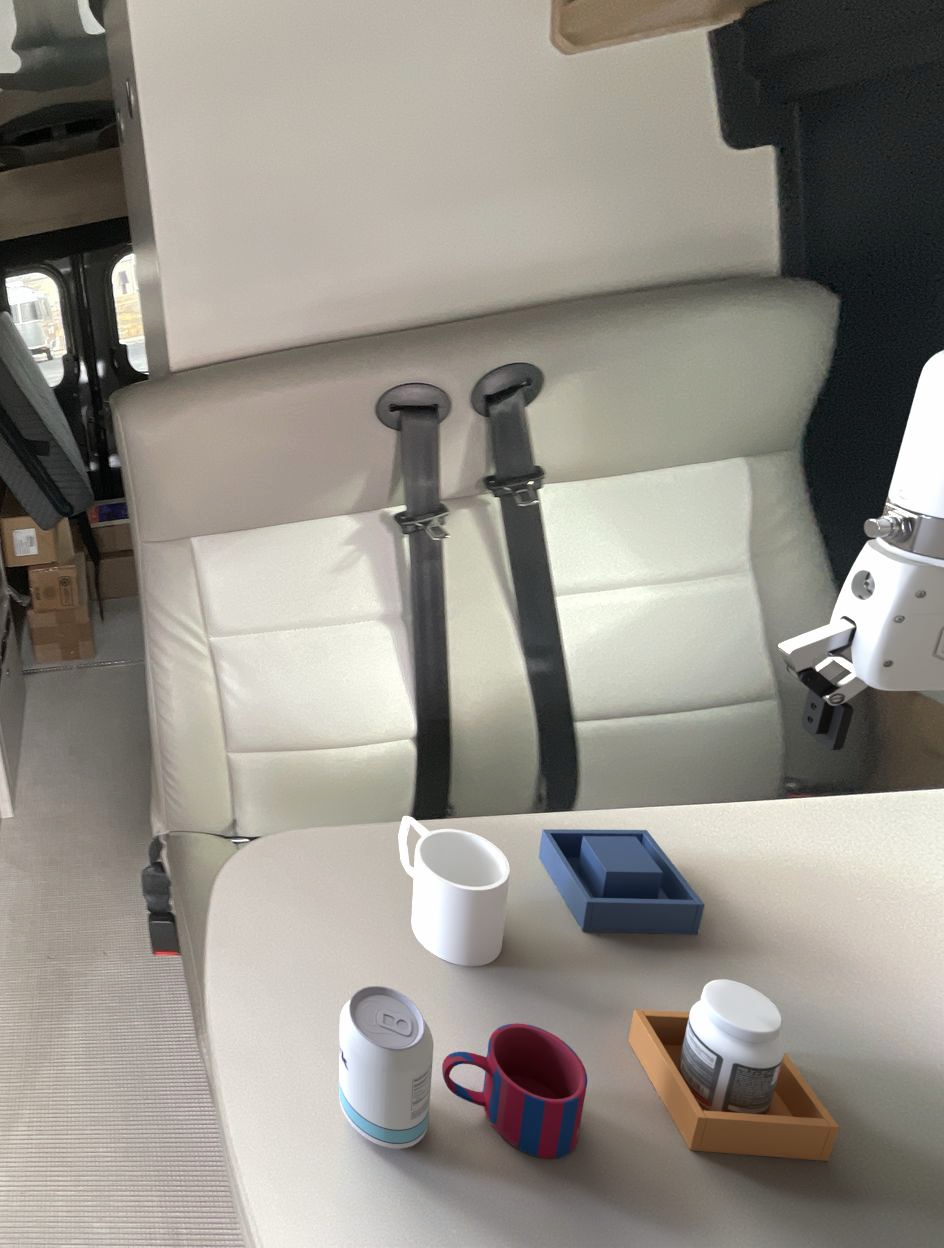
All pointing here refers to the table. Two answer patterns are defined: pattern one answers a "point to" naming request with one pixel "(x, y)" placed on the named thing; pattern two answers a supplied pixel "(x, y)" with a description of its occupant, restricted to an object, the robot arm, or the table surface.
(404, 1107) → the beverage can
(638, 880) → the block
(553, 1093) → the cup
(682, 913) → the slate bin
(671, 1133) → the table surface
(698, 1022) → the pill bottle
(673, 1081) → the tan bin
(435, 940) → the cup
